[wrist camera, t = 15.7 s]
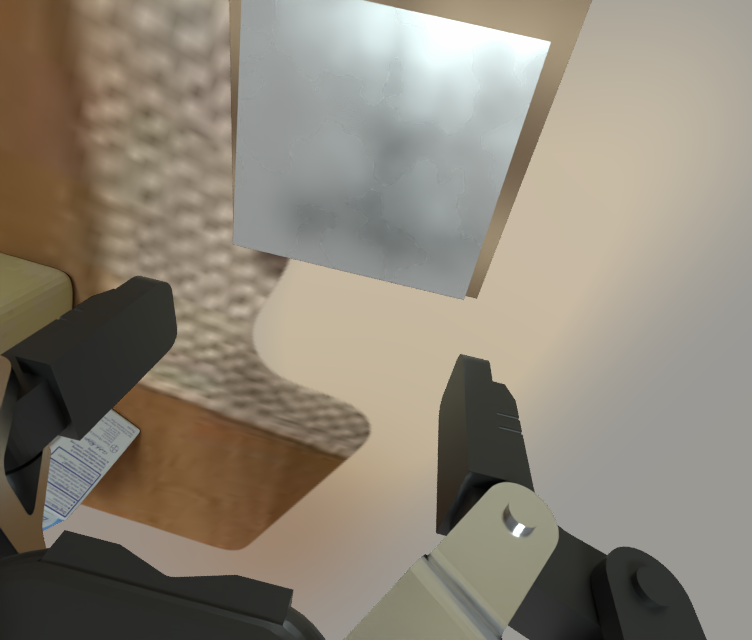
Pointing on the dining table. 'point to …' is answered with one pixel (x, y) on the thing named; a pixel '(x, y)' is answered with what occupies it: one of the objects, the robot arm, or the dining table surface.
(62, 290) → the cheese
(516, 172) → the walnut block
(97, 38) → the dining table surface
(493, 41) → the steel flap
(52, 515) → the medicine box
